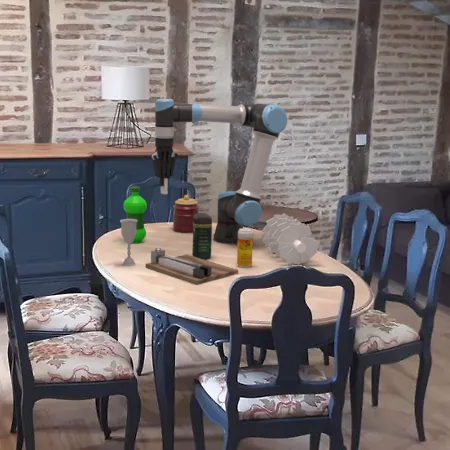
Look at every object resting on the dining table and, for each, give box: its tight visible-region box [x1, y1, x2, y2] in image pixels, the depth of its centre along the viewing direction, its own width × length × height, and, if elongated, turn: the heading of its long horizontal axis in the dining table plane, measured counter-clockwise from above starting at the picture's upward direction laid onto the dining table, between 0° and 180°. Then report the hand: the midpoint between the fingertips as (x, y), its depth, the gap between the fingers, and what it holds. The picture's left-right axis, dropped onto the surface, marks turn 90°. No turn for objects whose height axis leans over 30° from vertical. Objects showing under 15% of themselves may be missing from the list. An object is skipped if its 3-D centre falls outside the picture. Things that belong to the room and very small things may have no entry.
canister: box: [172, 194, 200, 234], centre depth 337 cm, size 13×13×18 cm
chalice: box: [119, 218, 138, 267], centre depth 276 cm, size 7×7×18 cm
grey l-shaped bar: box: [150, 247, 204, 279], centre depth 267 cm, size 28×5×6 cm, turn 45°
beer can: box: [236, 227, 254, 268], centre depth 278 cm, size 6×6×15 cm
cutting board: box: [145, 254, 239, 285], centre depth 272 cm, size 22×30×2 cm
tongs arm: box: [164, 254, 211, 276], centre depth 267 cm, size 24×2×3 cm, turn 48°
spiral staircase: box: [261, 212, 321, 266], centre depth 290 cm, size 18×18×25 cm
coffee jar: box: [191, 212, 213, 260], centre depth 290 cm, size 10×8×19 cm
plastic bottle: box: [122, 186, 148, 244], centre depth 312 cm, size 10×10×25 cm
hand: (164, 193), depth 288 cm, fingers closed
